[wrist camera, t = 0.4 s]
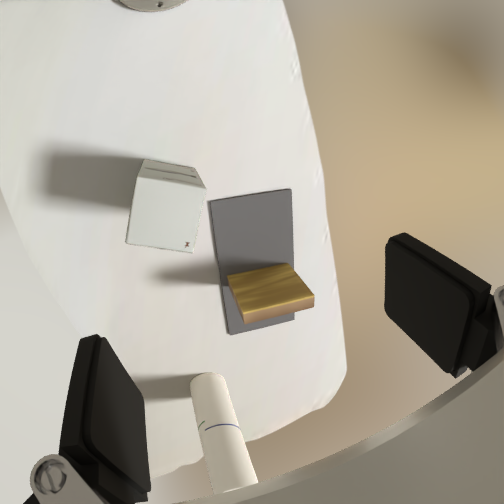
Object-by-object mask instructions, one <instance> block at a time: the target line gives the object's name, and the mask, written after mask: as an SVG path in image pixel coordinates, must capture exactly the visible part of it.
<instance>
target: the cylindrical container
mask: <svg viewBox="0 0 504 504" xmlns="http://www.w3.org/2000/svg"><path fill="white" fill-rule="evenodd" d="M190 391H191V396H192V402H193V407H194V412H195V417H196V422H197V426H198V431H199V436H200V440H201V445H202V449H203V453H204V457H205V462H206V466H207V470H208V474H209V478H210V482H211V486H212V490H213V494H214V495H216V494H220V493H224V492H228V491H231V490H235V489H239V488H242V487H246V486H249V485H252V484H256V483H258V480H257V477H256V474H255V471H254V469H253V466H252V463H251V460H250V457H249V454H248V451H247V448H246V445H245V442H244V439H243V436H242V433H241V431H240V427H239V424H238V421H237V418H236V415H235V412H234V408H233V405H232V402H231V399H230V396H229V392H228V389H227V386H226V382H225V380H224V378H223V377H222V376H221V375H219V374H217V373H203V374H200V375H198V376H196V377H195V378H193V379H192V381H191V382H190Z"/></svg>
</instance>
